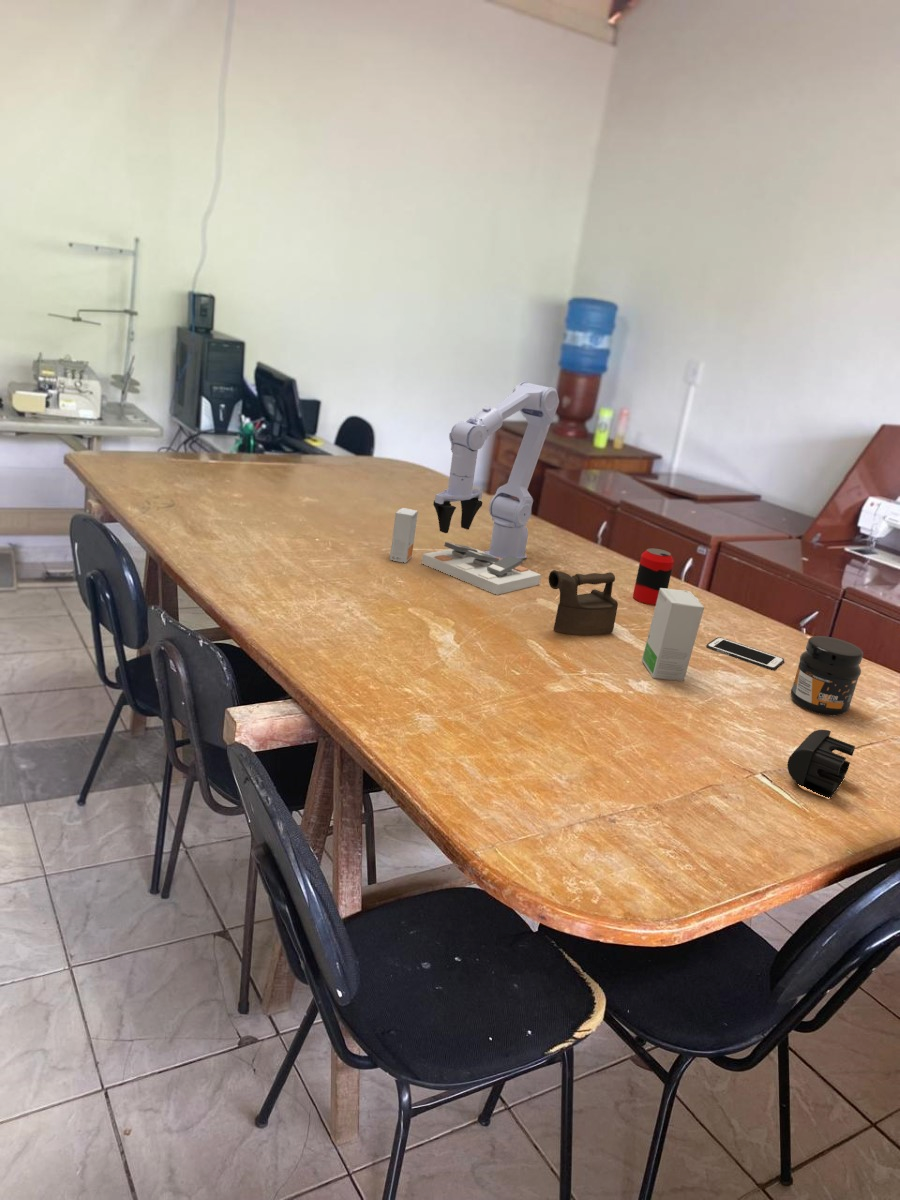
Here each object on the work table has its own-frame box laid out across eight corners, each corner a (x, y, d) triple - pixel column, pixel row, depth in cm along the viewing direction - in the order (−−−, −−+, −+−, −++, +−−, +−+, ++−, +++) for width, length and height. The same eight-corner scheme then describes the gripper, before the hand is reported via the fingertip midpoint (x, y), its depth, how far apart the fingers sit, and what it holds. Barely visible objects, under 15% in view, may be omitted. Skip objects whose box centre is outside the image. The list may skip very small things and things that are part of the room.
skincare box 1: (406, 563, 214) (412, 515, 210) (389, 560, 215) (394, 512, 211) (412, 557, 220) (418, 510, 216) (396, 554, 221) (401, 507, 217)
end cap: (800, 760, 144) (811, 723, 142) (845, 778, 140) (857, 740, 138) (781, 782, 136) (792, 743, 134) (828, 801, 132) (841, 762, 130)
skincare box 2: (641, 661, 175) (657, 586, 170) (673, 664, 176) (690, 590, 171) (653, 679, 167) (671, 601, 162) (687, 682, 168) (705, 605, 163)
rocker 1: (464, 549, 222) (465, 545, 221) (476, 554, 219) (477, 549, 219) (444, 546, 215) (445, 541, 215) (456, 550, 213) (457, 546, 213)
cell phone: (773, 672, 180) (774, 668, 180) (704, 649, 188) (705, 644, 187) (784, 663, 186) (785, 658, 186) (717, 640, 194) (718, 636, 193)
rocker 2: (485, 558, 217) (487, 553, 217) (498, 562, 215) (499, 558, 215) (465, 554, 211) (466, 549, 211) (478, 559, 209) (479, 554, 208)
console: (465, 555, 227) (467, 542, 226) (539, 584, 213) (541, 571, 212) (421, 563, 216) (423, 550, 215) (496, 595, 201) (498, 580, 200)
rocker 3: (509, 558, 213) (509, 554, 212) (522, 563, 210) (522, 559, 210) (487, 570, 208) (487, 566, 207) (500, 576, 205) (500, 571, 205)
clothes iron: (532, 624, 187) (542, 564, 182) (591, 619, 194) (603, 561, 190) (554, 639, 180) (565, 577, 176) (615, 633, 188) (627, 573, 184)
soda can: (645, 606, 208) (656, 557, 204) (626, 595, 214) (636, 547, 210) (670, 605, 211) (681, 556, 208) (650, 593, 218) (660, 546, 214)
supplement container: (788, 707, 163) (805, 647, 159) (789, 687, 173) (805, 629, 169) (849, 723, 160) (868, 662, 156) (847, 702, 170) (865, 644, 166)
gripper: (469, 468, 216) (462, 522, 221) (428, 472, 206) (421, 528, 210) (491, 475, 212) (483, 530, 216) (450, 479, 201) (443, 537, 206)
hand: (454, 530), depth 213 cm, fingers open, 7 cm apart
